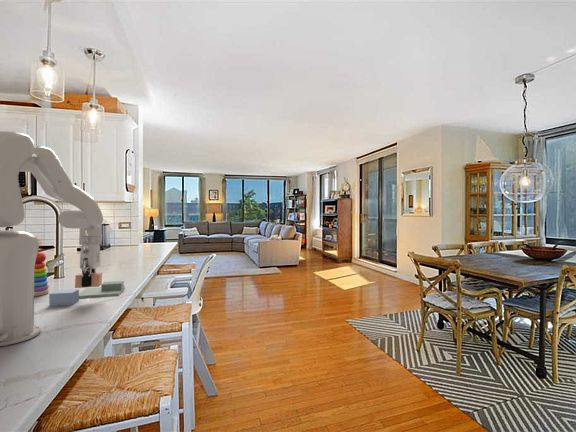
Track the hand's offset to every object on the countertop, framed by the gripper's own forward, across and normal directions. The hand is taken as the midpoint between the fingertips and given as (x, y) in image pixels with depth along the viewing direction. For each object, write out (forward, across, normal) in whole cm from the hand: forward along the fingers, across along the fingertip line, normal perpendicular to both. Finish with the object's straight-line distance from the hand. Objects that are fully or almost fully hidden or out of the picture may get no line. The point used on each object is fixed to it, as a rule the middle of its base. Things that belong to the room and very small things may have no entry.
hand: (88, 284), depth 116 cm
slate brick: (+8, +2, +8) cm, 11 cm away
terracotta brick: (+1, 0, 0) cm, 1 cm away
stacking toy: (+7, +20, +24) cm, 32 cm away
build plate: (+7, +14, -2) cm, 16 cm away
